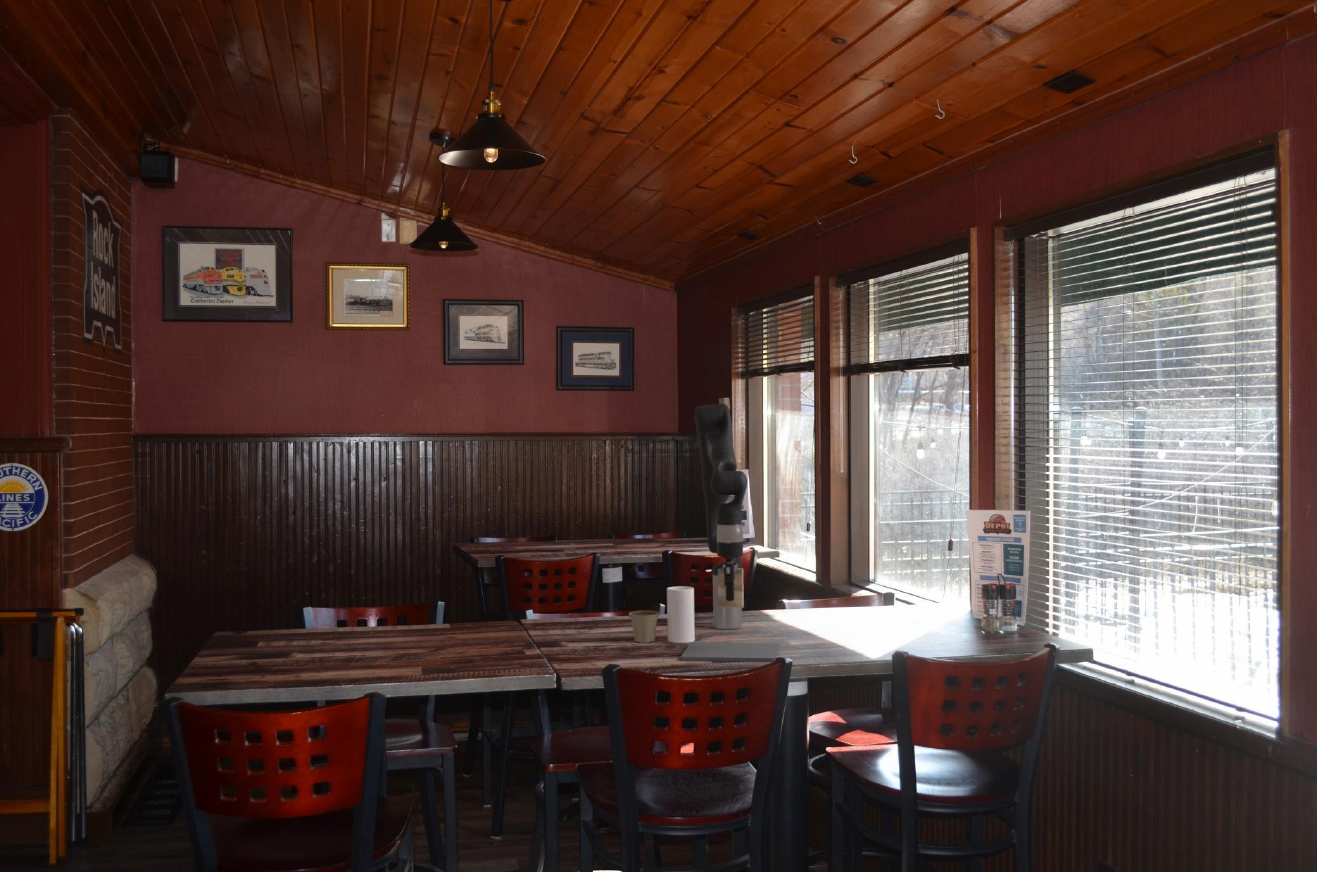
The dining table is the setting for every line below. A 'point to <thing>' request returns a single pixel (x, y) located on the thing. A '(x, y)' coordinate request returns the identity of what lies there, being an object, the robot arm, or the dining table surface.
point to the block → (738, 590)
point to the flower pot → (644, 625)
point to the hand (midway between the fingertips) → (730, 599)
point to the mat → (730, 652)
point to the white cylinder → (680, 614)
